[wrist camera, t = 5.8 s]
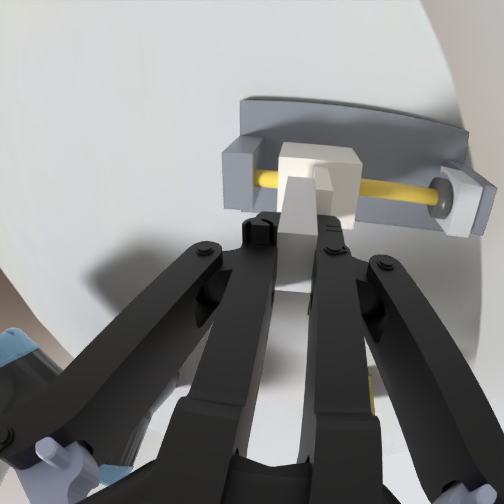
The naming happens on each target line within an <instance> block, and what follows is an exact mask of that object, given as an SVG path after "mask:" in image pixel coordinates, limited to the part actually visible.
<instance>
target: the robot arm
mask: <svg viewBox="0 0 504 504" xmlns="http://www.w3.org/2000/svg"><path fill="white" fill-rule="evenodd" d="M242 240H243V243H242V246H241V248H239V249H236V250H230V251H222V247H221V246H220V245H219V244H218V243H215V242H210V241H205V242H204V241H202V242H199V243H196V244H194V245H192V246H191V247H189V248H188V249H187V250H186V251H185V252H184V253H183V254H182V255H181V256H180V257H178V258H177V259H176V260H175V261H174V262H173V263H172V264H171V265H170V266H169V267H168V268H167V269H166V270H165V271H163V272H162V273H161V274H160V275H159V276H158V277H157V278H156V279H155V280H154V281H153V282H152V283H151V284H150V285H149V286H148V287H147V288H146V289H144V290H143V291H142V292H141V293H140V294H139V295H138V296H137V297H136V298H135V299H134V300H133V301H132V302H131V303H130V304H129V305H128V306H127V307H126V308H125V309H124V310H123V311H122V312H121V313H120V314H119V315H118V316H117V317H116V318H115V319H114V320H113V321H112V322H111V323H110V324H109V325H108V326H107V327H106V328H105V329H104V330H103V331H102V332H101V333H100V334H99V335H98V336H97V337H96V338H95V339H94V340H93V341H92V342H91V343H90V344H89V345H88V346H87V347H86V348H85V349H84V350H83V351H82V352H81V353H80V354H79V355H78V356H77V357H76V358H75V359H74V360H73V361H72V362H71V363H70V364H69V365H68V367H67V368H66V369H65V370H63V369H62V368H61V367H59V366H58V365H57V364H56V363H55V362H54V361H53V360H52V359H51V358H50V357H49V356H47V355H46V354H45V353H44V352H43V351H42V350H41V349H40V348H39V347H40V346H39V345H38V344H35V343H34V342H33V341H32V340H31V339H30V338H29V337H28V336H27V335H26V334H25V333H24V332H23V331H21V330H20V329H18V328H14V327H12V328H8V329H7V330H5V331H4V332H3V333H2V334H0V485H1V483H2V481H3V479H4V477H5V475H6V473H7V471H8V469H9V467H10V466H11V467H13V468H14V469H15V471H16V473H17V475H18V478H19V480H20V482H21V484H22V487H23V488H24V490H25V493H26V495H27V497H28V499H29V501H30V503H31V504H401V503H400V502H399V501H398V500H397V498H396V497H395V496H394V495H393V494H392V493H391V492H390V490H388V488H387V487H386V486H385V485H383V480H382V479H383V473H382V441H381V427H380V421H379V419H378V417H377V416H375V415H373V414H372V412H371V403H370V389H369V378H368V367H367V358H366V349H365V340H364V337H365V339H366V341H367V344H368V346H369V348H370V351H371V353H372V355H373V358H374V360H375V363H376V365H377V367H378V370H379V372H380V375H381V377H382V380H383V382H384V385H385V387H386V390H387V392H388V395H389V397H390V400H391V403H392V405H393V408H394V410H395V413H396V416H397V418H398V421H399V424H400V427H401V429H402V432H403V435H404V438H405V440H406V443H407V446H408V449H409V452H410V455H411V458H412V461H413V464H414V467H415V470H416V473H417V476H418V478H419V481H420V483H421V486H422V488H423V490H424V492H425V494H426V496H427V498H428V500H429V501H430V502H431V504H504V433H503V431H502V429H501V427H500V424H499V422H498V420H497V418H496V416H495V414H494V412H493V410H492V408H491V406H490V404H489V402H488V400H487V398H486V396H485V394H484V392H483V390H482V389H481V387H480V385H479V383H478V381H477V380H476V378H475V376H474V374H473V372H472V370H471V369H470V367H469V365H468V364H467V362H466V360H465V358H464V357H463V355H462V353H461V352H460V350H459V348H458V347H457V345H456V344H455V342H454V340H453V339H452V337H451V335H450V334H449V332H448V331H447V329H446V328H445V326H444V325H443V323H442V321H441V320H440V318H439V317H438V315H437V314H436V312H435V311H434V309H433V308H432V306H431V305H430V304H429V302H428V301H427V299H426V298H425V296H424V295H423V293H422V292H421V291H420V289H419V288H418V286H417V285H416V284H415V282H414V281H413V279H412V278H411V277H410V275H409V274H408V273H407V271H406V270H405V269H404V267H403V266H402V265H401V263H400V262H399V261H398V260H396V259H395V258H393V257H391V256H387V255H374V256H373V257H371V258H370V260H369V263H368V262H365V261H361V260H358V259H356V258H354V257H352V256H351V252H350V250H349V248H348V247H347V246H345V243H344V237H343V232H342V228H341V222H340V220H339V219H338V218H337V217H336V216H329V215H318V214H317V211H316V195H315V181H314V178H307V177H293V176H288V178H287V183H286V189H285V194H284V200H283V205H282V211H281V212H269V211H262V212H261V213H259V214H258V215H257V216H256V217H255V218H250V219H247V220H245V221H244V222H243V223H242ZM275 290H282V291H293V292H305V293H310V292H311V294H310V301H309V307H308V314H307V315H309V327H308V348H307V365H306V380H305V394H304V406H303V418H302V428H301V438H300V448H299V454H298V459H297V464H291V465H284V466H276V467H270V466H266V465H263V464H261V463H258V462H255V461H253V460H250V459H247V458H246V456H247V448H248V442H249V436H250V431H251V426H252V421H253V416H254V411H255V405H256V400H257V395H258V389H259V384H260V378H261V373H262V367H263V362H264V356H265V350H266V344H267V339H268V333H269V327H270V321H271V315H272V309H273V303H274V293H275ZM213 322H214V323H213ZM212 323H213V326H212V329H211V332H210V335H209V337H208V340H207V343H206V346H205V349H204V351H203V354H202V357H201V360H200V363H199V366H198V369H197V371H196V374H195V377H194V380H193V383H192V386H191V389H190V391H189V393H188V395H187V396H185V397H181V398H180V399H179V400H178V402H177V404H176V406H175V408H174V411H173V414H172V416H171V419H170V422H169V425H168V428H167V430H166V433H165V436H164V439H163V441H162V444H161V447H160V450H159V453H158V456H157V459H155V460H153V461H150V462H149V463H147V464H145V465H143V466H142V467H140V468H139V469H137V470H135V471H134V472H132V473H130V472H131V470H132V469H133V467H134V466H133V465H134V462H135V459H136V456H137V454H138V451H139V449H140V446H141V443H142V441H143V438H144V435H145V433H146V430H147V427H148V425H149V422H150V420H151V417H152V415H153V413H154V412H155V411H156V410H157V409H158V408H159V407H160V406H161V404H162V403H163V402H164V401H165V400H166V399H167V398H168V397H169V396H170V395H171V393H172V392H173V391H174V389H175V386H176V384H177V381H178V378H179V375H178V370H179V368H180V367H181V366H182V364H183V363H184V362H185V360H186V359H187V357H188V356H189V355H190V353H191V352H192V351H193V349H194V348H195V347H196V345H197V344H198V343H199V341H200V340H201V338H202V337H203V336H204V334H205V333H206V332H207V330H208V329H209V327H210V326H211V325H212ZM99 483H100V484H102V485H105V486H107V487H106V488H104V489H102V490H100V491H98V492H97V493H95V494H93V495H91V496H89V497H87V495H88V493H89V492H90V490H91V489H94V488H96V487H98V485H99ZM86 497H87V498H86Z"/></svg>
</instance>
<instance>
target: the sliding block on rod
mask: <svg viewBox="0 0 504 504" xmlns="http://www.w3.org/2000/svg"><path fill="white" fill-rule="evenodd" d="M468 138H469V132H468V131H466V130H463V129H460V128H456V127H452V126H449V125H445V124H441V123H437V122H433V121H428V120H424V119H419V118H415V117H410V116H405V115H400V114H395V113H389V112H383V111H377V110H371V109H364V108H357V107H349V106H341V105H332V104H322V103H310V102H295V101H275V100H240V136H239V137H238V138H237V139H236V140H235V141H234V142H233V143H232V144H231V145H230V146H228V147H227V148H226V149H225V150H224V151H223V152H222V173H223V198H224V209H237V210H241V212H254V213H261V212H262V211H269V212H277V194H278V165H279V154H280V151H281V148H282V145H283V142H292V143H305V144H317V145H328V146H338V147H347V148H352V149H353V150H354V152H355V153H356V155H357V156H358V158H359V159H360V161H361V163H362V164H363V166H362V174H361V181H360V188H359V195H358V202H357V208H356V214H355V220H354V221H358V222H368V223H377V224H386V225H395V226H404V227H412V228H420V229H428V230H436V231H443V232H445V233H446V234H447V235H450V236H457V237H465V238H468V237H469V234H476V235H483V234H484V231H485V228H486V225H487V222H488V219H489V215H490V212H491V209H492V205H493V202H494V198H495V195H496V191H497V188H496V187H495V186H494V185H493V184H491V183H490V182H489V181H487V180H486V179H485V178H483V177H482V176H481V175H479V174H478V173H476V172H475V171H474V170H472V169H471V168H470V167H468V166H467V165H465V164H464V160H465V155H466V150H467V144H468Z"/></svg>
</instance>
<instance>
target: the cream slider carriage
mask: <svg viewBox="0 0 504 504" xmlns="http://www.w3.org/2000/svg"><path fill="white" fill-rule="evenodd" d="M362 166H363V164H362V163H361V161H360V159H359V158H358V156H357V155H356V153H355V152H354V150H353V149H352V148H347V147H338V146H328V145H317V144H305V143H292V142H283V145H282V148H281V151H280V154H279V165H278V194H277V212H281V211H282V205H283V200H284V194H285V189H286V183H287V178H288V176H293V177H307V178H314V181H315V195H316V211H317V214H318V215H329V216H336V217H337V218H338V219H339V220H340V222H341V228H342V229H349V230H353V226H354V220H355V214H356V208H357V202H358V195H359V188H360V181H361V174H362Z"/></svg>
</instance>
